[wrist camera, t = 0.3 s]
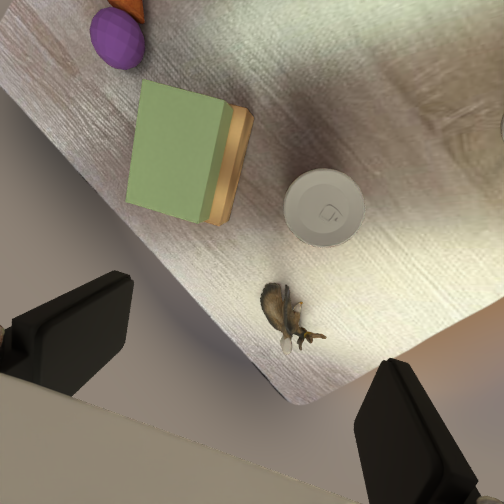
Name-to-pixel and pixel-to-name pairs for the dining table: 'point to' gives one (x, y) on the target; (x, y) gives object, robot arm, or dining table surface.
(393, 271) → the dining table surface
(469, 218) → the dining table surface
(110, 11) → the purple wooden maraca
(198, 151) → the sage block
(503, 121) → the glass holder
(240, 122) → the maple block
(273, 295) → the eagle figurine
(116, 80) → the dining table surface
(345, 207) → the canned food
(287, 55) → the dining table surface
